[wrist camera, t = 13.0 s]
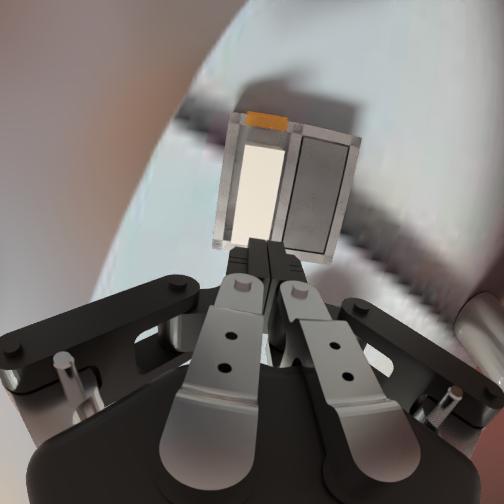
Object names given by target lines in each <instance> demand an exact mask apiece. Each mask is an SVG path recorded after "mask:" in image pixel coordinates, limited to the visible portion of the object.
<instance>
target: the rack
mask: <svg viewBox="0 0 504 504" xmlns="http://www.w3.org/2000/svg"><path fill="white" fill-rule="evenodd" d="M361 139H362V138H360V137H356V136H353V135H349V134H345V133H341V132H337V131H333V130H329V129H325V128H320V127H316V126H311V125H306V124H302V123H297V122H292V121H288V118H287V117H282V116H277V115H271V114H265V113H259V112H252V111H247V114H244V113H237V112H230V118H229V124H228V131H227V137H226V144H225V151H224V158H223V165H222V172H221V179H220V186H219V194H218V202H217V210H216V218H215V226H214V234H213V243H212V248H213V249H220V250H227V251H230V250H231V249H233V248H234V247H235V246H237V247H244V248H247V245H240V244H233V243H231V238H232V231H233V223H234V216H235V209H236V202H237V195H238V189H239V182H240V175H241V168H242V162H243V155H244V149H245V143H246V140H248V141H255V142H261V143H268V144H274V145H277V146H279V147H280V148H281V149H283V150H284V151H285V153H284V159H283V165H282V170H281V176H280V181H279V187H278V192H277V198H276V203H275V209H274V214H273V220H272V225H271V230H270V236H269V240H271V241H278V242H283V243H284V246H285V250H286V254H292V255H295V256H296V257H297V258H298V259H299V260H300V261H305V262H312V263H319V264H326V265H331V262H332V258H333V255H334V251H335V248H336V244H337V240H338V237H339V233H340V229H341V226H342V222H343V218H344V214H345V210H346V206H347V202H348V198H349V194H350V190H351V185H352V181H353V177H354V172H355V168H356V163H357V158H358V154H359V149H360V144H361Z"/></svg>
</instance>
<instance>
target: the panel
mask: <svg viewBox="0 0 504 504" xmlns="http://www.w3.org/2000/svg"><path fill="white" fill-rule="evenodd" d="M284 153H285V151H284V150H283V149H281V148H280V147H279V146H277V145H274V144H268V143H261V142H255V141H248V140H246V143H245V149H244V155H243V162H242V168H241V175H240V182H239V189H238V195H237V202H236V209H235V216H234V223H233V231H232V238H231V243H233V244H240V245H247V246H248V240H249V237H251V238H258V239H264V240H266V241H267V240H269V236H270V230H271V225H272V220H273V214H274V209H275V203H276V198H277V192H278V187H279V181H280V176H281V170H282V165H283V159H284Z"/></svg>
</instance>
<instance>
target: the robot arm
mask: <svg viewBox="0 0 504 504" xmlns="http://www.w3.org/2000/svg"><path fill="white" fill-rule="evenodd" d="M157 325H158V333H156V334H154V335H152V336H149V337H147V338H145V339H143V340H141V341H139V342H137V343H135V344H134V342H135V340H136V338H137V337H138V336H139V335H140V334H141V333H142V332H144V331H146V330H149V329H151V328H153V327H155V326H157ZM454 331H455V334H456V336H457V337H458V339H459V340H460V341H461V343H462V344H463V345H464V347H465V348H466V349H467V351H468V352H469V354H470V355H471V356H472V358H473V359H474V361H475V362H476V363H477V365H478V366H479V368H480V369H481V370H482V372H483V373H484V375H485V376H484V375H483V374H481V373H480V372H478V371H477V370H475V369H474V368H472V367H471V366H469V365H467V364H466V363H464V362H463V361H461V360H460V359H458V358H457V357H455V356H454V355H452V354H450V353H449V352H447V351H446V350H444V349H443V348H441V347H439V346H438V345H436V344H435V343H433V342H432V341H430V340H428V339H427V338H425V337H424V336H422V335H421V334H419V333H417V332H416V331H414V330H413V329H411V328H409V327H408V326H406V325H405V324H403V323H402V322H400V321H398V320H397V319H395V318H394V317H392V316H390V315H389V314H387V313H386V312H384V311H382V310H381V309H379V308H377V307H376V306H374V305H373V304H371V303H369V302H367V301H365V300H362V299H358V298H348V299H345V300H344V301H343V302H342V305H341V308H339V307H336V306H333V305H329V304H326V303H324V302H323V300H322V298H321V296H320V294H319V292H318V290H317V289H316V288H315V287H313V286H312V285H310V284H308V283H307V280H306V277H305V274H304V271H303V268H302V265H301V262H300V260H299V259H298V258H297V257H296V256H295V255H292V254H286V250H285V246H284V243H283V242H278V241H271V240H267V241H266V240H264V239H258V238H251V237H249V240H248V246H247V248H244V247H237V246H235V247H234V248H233V249H231V250H230V253H229V259H228V265H227V271H226V276H225V277H224V278H223V280H222V283H221V285H220V286H218V287H215V288H210V289H200V285H199V283H198V282H197V281H196V280H195V279H193V278H191V277H189V276H185V275H175V274H174V275H167V276H164V277H161V278H158V279H156V280H153V281H150V282H147V283H144V284H142V285H139V286H136V287H133V288H131V289H128V290H125V291H122V292H119V293H117V294H114V295H111V296H108V297H106V298H103V299H100V300H97V301H94V302H92V303H89V304H86V305H83V306H81V307H78V308H75V309H72V310H70V311H67V312H64V313H62V314H59V315H56V316H53V317H51V318H48V319H45V320H42V321H40V322H37V323H34V324H31V325H29V326H26V327H23V328H21V329H18V330H15V331H12V332H10V333H7V334H5V335H3V336H1V337H0V378H1V382H2V385H3V386H4V388H5V390H6V392H7V393H8V395H9V397H10V399H11V400H12V402H13V404H14V405H15V407H16V408H17V410H18V411H19V412H20V414H21V417H22V419H23V421H24V423H25V425H26V427H27V429H28V431H29V433H30V435H31V437H32V439H33V441H34V443H35V445H36V447H37V450H36V451H35V452H34V454H33V455H32V457H31V459H30V462H29V464H28V468H27V473H26V485H27V492H28V497H29V502H30V504H480V494H481V484H480V477H479V474H478V471H477V469H476V467H475V466H474V464H473V463H472V461H471V460H470V458H471V456H472V454H473V451H474V449H475V447H476V444H477V442H478V439H479V437H480V434H481V432H482V431H483V429H485V427H486V426H487V425H488V424H489V423H490V422H491V421H492V420H493V419H494V417H495V416H496V415H497V414H498V413H499V412H500V411H501V409H502V408H503V407H504V306H503V305H502V304H501V303H500V302H499V301H498V300H497V299H496V298H495V297H494V296H493V295H492V294H491V293H489V292H483V293H480V294H477V295H476V296H474V297H473V298H472V299H471V300H469V301H468V302H467V303H466V305H465V306H464V307H463V308H462V310H461V311H460V313H459V315H458V317H457V319H456V322H455V326H454ZM262 333H264V334H268V339H267V343H266V347H265V350H266V356H267V362H268V365H265V364H262V363H260V359H261V346H262ZM367 343H368V344H369V345H371V346H372V347H374V348H375V349H377V350H378V351H380V352H381V353H382V354H384V355H385V356H387V357H388V358H389V359H390V360H391V361H392V363H393V366H394V369H393V372H392V374H391V375H390V377H387V376H385V375H384V374H383V373H381V372H380V371H378V370H377V369H376V368H374V367H373V366H371V365H370V364H369V363H368V361H367V359H366V357H365V355H364V353H363V351H364V349H365V347H366V345H367ZM191 358H192V359H191ZM190 359H191V361H190V364H188V365H183V366H180V365H182V364H184V363H185V362H187V361H189V360H190ZM178 366H180V367H178ZM426 395H427V396H426ZM114 402H115V403H114ZM112 403H113V404H112ZM110 404H111V405H110ZM108 405H109V406H108ZM106 406H108V407H106ZM104 407H106V408H104Z"/></svg>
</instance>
